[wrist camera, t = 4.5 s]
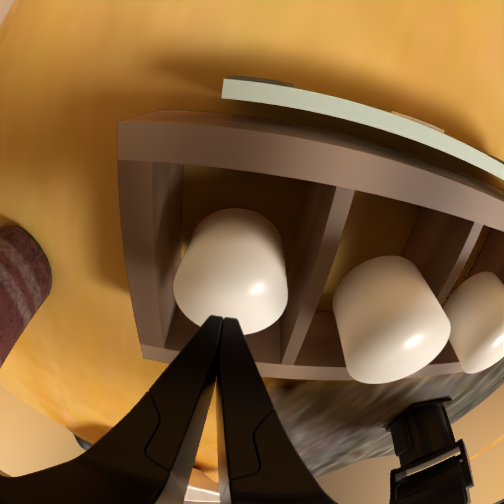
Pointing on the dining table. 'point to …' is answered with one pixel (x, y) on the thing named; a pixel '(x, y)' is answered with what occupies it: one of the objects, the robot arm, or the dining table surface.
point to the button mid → (388, 320)
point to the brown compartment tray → (309, 232)
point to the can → (20, 284)
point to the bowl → (202, 488)
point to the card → (356, 116)
